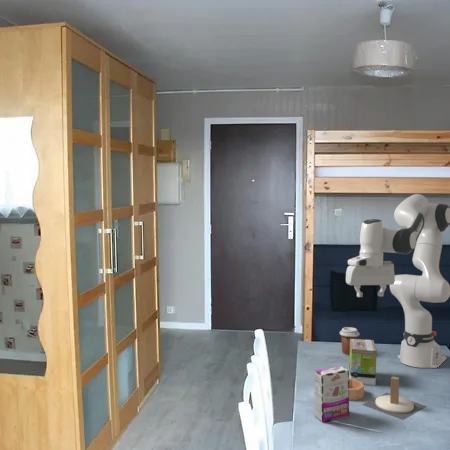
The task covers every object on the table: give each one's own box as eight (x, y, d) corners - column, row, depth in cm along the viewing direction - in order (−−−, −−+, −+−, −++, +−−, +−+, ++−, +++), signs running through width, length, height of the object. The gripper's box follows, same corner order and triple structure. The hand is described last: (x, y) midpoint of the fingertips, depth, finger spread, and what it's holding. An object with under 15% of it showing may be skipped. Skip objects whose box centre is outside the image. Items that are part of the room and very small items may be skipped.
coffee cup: (362, 353, 241) (363, 328, 240) (353, 358, 234) (353, 333, 233) (345, 349, 247) (345, 325, 246) (335, 354, 240) (336, 329, 239)
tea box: (376, 387, 201) (377, 350, 200) (350, 385, 203) (350, 348, 202) (373, 373, 216) (373, 339, 214) (348, 371, 218) (349, 337, 216)
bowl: (344, 387, 201) (344, 376, 200) (368, 395, 192) (369, 384, 192) (326, 394, 194) (327, 383, 193) (351, 404, 185) (351, 392, 185)
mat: (386, 394, 194) (386, 392, 194) (426, 407, 182) (426, 406, 182) (362, 406, 184) (362, 404, 184) (403, 421, 172) (403, 419, 171)
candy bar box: (340, 410, 180) (341, 365, 179) (349, 416, 175) (350, 369, 174) (313, 416, 175) (313, 369, 174) (321, 422, 171) (322, 374, 170)
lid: (379, 395, 192) (380, 369, 191) (416, 402, 185) (417, 375, 184) (371, 408, 180) (372, 380, 179) (410, 416, 174) (411, 387, 173)
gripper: (388, 260, 205) (387, 294, 205) (344, 260, 199) (343, 295, 199) (398, 261, 199) (397, 297, 199) (353, 261, 193) (352, 298, 193)
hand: (370, 296), depth 199 cm, fingers open, 8 cm apart
